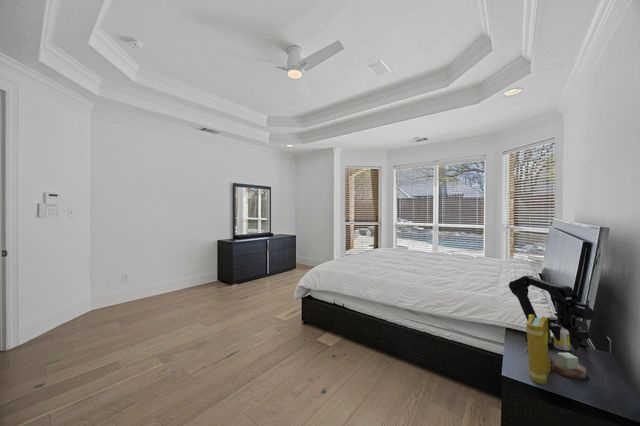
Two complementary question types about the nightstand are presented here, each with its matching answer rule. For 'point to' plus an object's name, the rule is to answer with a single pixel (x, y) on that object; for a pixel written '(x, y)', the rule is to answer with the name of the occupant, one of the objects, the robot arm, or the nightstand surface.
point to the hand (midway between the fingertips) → (566, 345)
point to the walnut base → (569, 370)
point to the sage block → (568, 360)
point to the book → (538, 348)
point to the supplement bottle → (562, 340)
